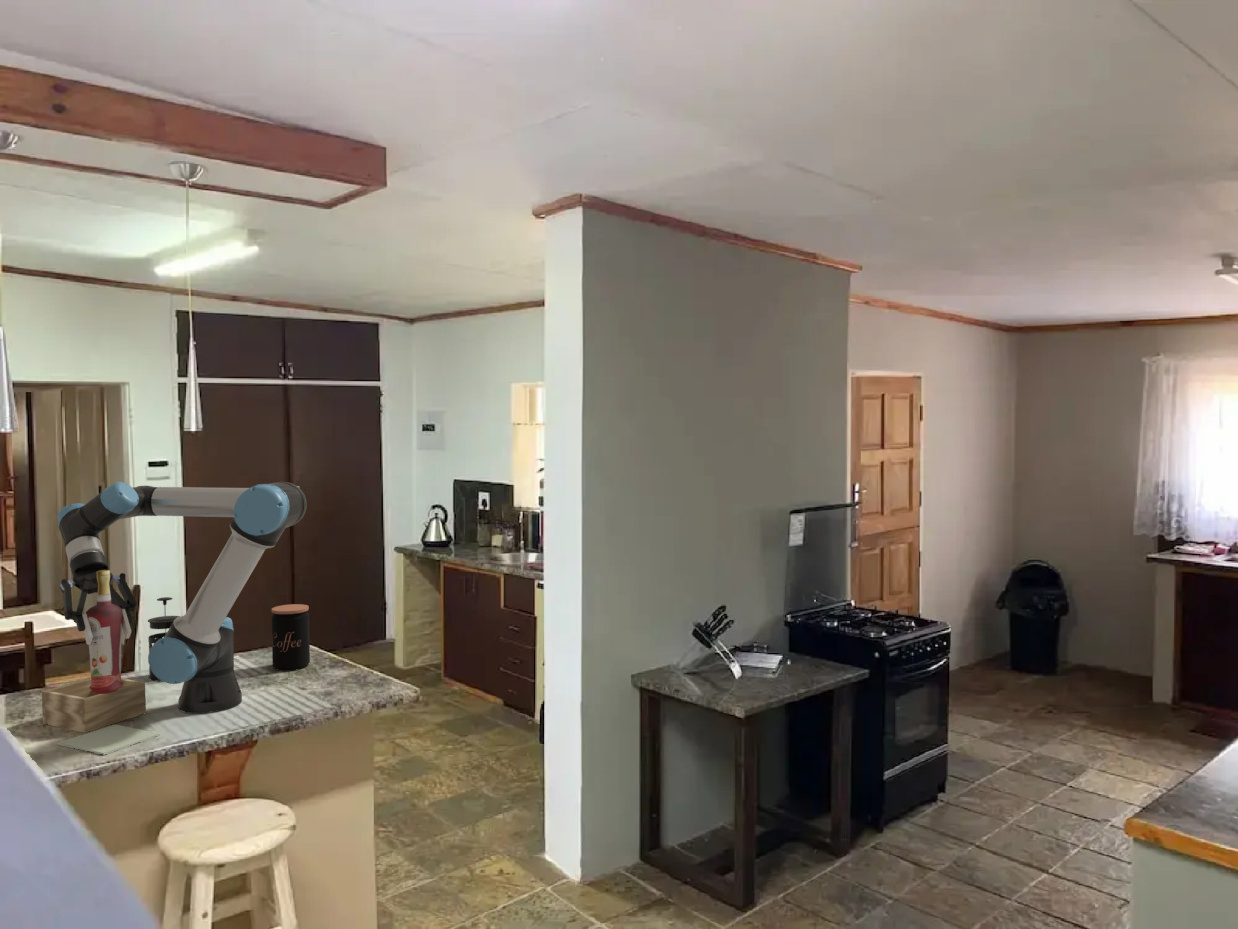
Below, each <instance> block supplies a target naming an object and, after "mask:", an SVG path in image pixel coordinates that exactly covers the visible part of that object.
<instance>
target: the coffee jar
mask: <svg viewBox="0 0 1238 929" xmlns="http://www.w3.org/2000/svg"><path fill="white" fill-rule="evenodd" d="M309 609H310V608H309V605H307V604H302V603H300V604H298V603H296V604H294V603H292V604H282V605H276V606H274V607H272V608H271V613H272V616H271V648H272V649H271V650H272V651H271V652H272V654H271V656H272V659H271V660H272V667H273V668H274V669H275V670H276V669H278V670H277V671H280V670H292V671H297V670H296V669H299V670H302V669H305V668H307V667H308V666H309V664H310V662H311V654H310V652H311V650H310V648H311V646H310V614H309V613H308V611H309Z"/></svg>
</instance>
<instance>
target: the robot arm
mask: <svg viewBox="0 0 1238 929" xmlns="http://www.w3.org/2000/svg"><path fill="white" fill-rule="evenodd" d="M307 506H308V505H307V498H306V495H305V493H304V492H303V491H302V489H301V488H300V487H299V486H298V485H296V484H294V483H291V482H287V481H277V482H272V483H259V484H255V485H253V486H251V487H201V486H200V487H194V486H192V487H190V486H185V487H184V486H153V485H138V486H133V487H132V486H131V485H130V484H128V483H125V482H124V481H116V482H114V483H112V484H111V485H109V486H107V487H105V488H104V489H102V491H101V492H99V493H98V494H97V495H95V496H94V497H93V498H91V499H90V500H88V502H86V503H79V502H78V503H71V504H70V505H66V506H63V507H62V508H61V509H60V510H59V511H58V514H57V518H56V519H57V523H58V530H59V532H60V535H61V538H62V541H63V544H64V549H65V554H66V556H67V561H68V563H69V568H70V572H71V575H72V579H69V580H67V579H66V578H65V579H61V581H60V585H59V589H60V591H61V592H62V596H63V598H62V599H63V609H64V610H63V611H64V619H65V620H66V621H70V620H73V622H74V623H75V624H76V627H77V631H78V632H83V635H84V639H85V643H86V645H88V646H89V644H91V642H92V639H93V635H92V632H91V628H90V625H89V621H88V617H87V614H86V613H85V614H84V607H85V604H86V601H87V600H86V599H87V596H88V595H92V594H95V593H98V582H97V571H100V570H110V569H109V566H108V563H107V559H106V556H105V552H104V548H103V546H102V543H101V538H100V533H102V532H103V531H105V530H106V529H107V528H108V527H111V525H113V524H114V523H116V522H117V521H119V520H124V519H130V518H134V517H135V518H136V517H158V516H159V517H162V516H163V517H206V518H209V517H211V518H212V517H213V518H214V517H215V518H232V520H231V522H230V524H229V528H230V531H231V534H230V537H229V538H228V540H227V542H226V544H225V545H224V547H223V549H222V550H221V552H220V554H219V556H218V557H217V559H216V560H215V562H214V564H213V566H212V568H211V569H210V571H209V573H208V575H207V576H206V578H205V579H204V581H203V583H202V585H201V586H200V588H199V590H198V591H197V593H196V595H195V597H194V599H193V600H192V602H191V604H190V605H189V607H188V608H187V610H186V612H185V614H183V615H181V616H180V615H179V616H180V617H177V618H176V619H175V620H174V621H173V623H172V625H171V627H170V628H169V629H167V631H166V632H167V633H166V635H165V637H163V638H162V639H159V640H158V641H157V642H156V643H155V644H154V643H153V644H152V647H151V649H150V651H149V650H148V654H147V662H148V665H150V667H151V671H152V672H153V674H154V675H155V676H156V677H157V678H158V679H160V680H161V681H162V682H163V683H165V684H170V685H178V684H182V683H183V684H182V688H181V691H180V696H179V697H178V705H177V706H178V710H179V711H181V712H183V713H191V714H204V713H205V714H206V713H214V712H220V711H224V710H229V709H233V708H234V707H237V706H238V705H240V704H242V702H243V693H242V690H241V689H240V685H239V683H238V679H237V677H236V675H235V663H234V662H235V660H234V658H235V657H234V656H235V655H234V652H235V651H234V650H235V648H234V631H235V629H234V625H233V624H234V623H233V620H232V618H230V617H228V614H229V613H230V611H231V609H232V607H233V606H234V604H235V602H236V600H237V599H238V597H239V595H240V594H241V592H242V591H243V589H244V587H245V585H246V583H247V582H248V580H249V578H250V576H251V575H252V573H253V571H254V570H255V568H256V567H257V565H258V563H259V561H260V560H261V558H262V556H263V554H264V552H265V551H266V550H267V549H271V548H274V547H275V546H276V544H277V543H278V541H279V539H280V538H281V536H282V534H283V533H284V531H285V529H286V528H289V527H292V526H294V525H296V524H298V523H299V522H300V521H301V520H302V519H303V517H304V516H305V513H306V511H307V508H308V507H307ZM126 576H127V575H126V574H125V573H124V572H121V573H120V574H119V575H118V574H113V573H112V572H111V571H110V581H109V587H110V595H111V603H112V604H115V605H118V606H119V607H121V608H122V632H123V635H124V637H125V640H127V639H130V637H131V634H132V628H131V626H130V625H132V621H133V616H132V612H135V611H136V607H137V605H138V602H137V601H136V599H135V597H134V595H133V593H132V591H131V588H130V586H129V584H128V583H127V580H126ZM111 582H113V583H115V586H117V588H118V591H119V592H120V593H119V592H117V590H116V589H115V588H114V587H113V584H112V583H111ZM73 586H74V587H75V588H77V589H78V590H80V591H81V592H80V596H79V601H78V602H77V603H78V604H77V608H76V610H73V597H72V596H73V595H72V589H73ZM120 594H121V595H120ZM161 681H160V682H161Z"/></svg>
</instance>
